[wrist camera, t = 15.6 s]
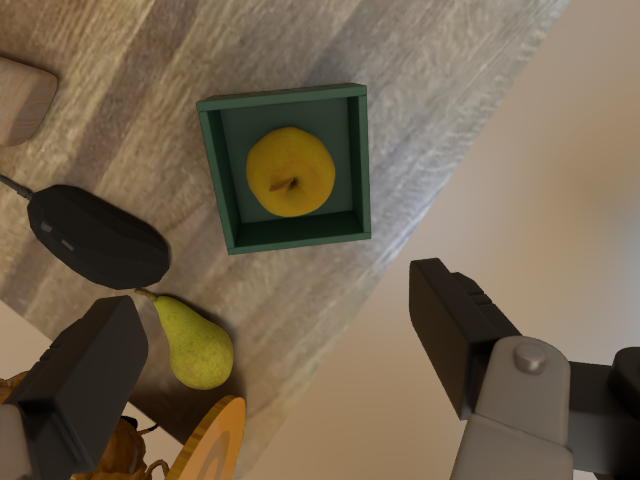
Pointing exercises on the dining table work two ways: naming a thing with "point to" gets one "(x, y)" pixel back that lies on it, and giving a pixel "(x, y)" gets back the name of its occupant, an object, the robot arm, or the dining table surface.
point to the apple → (290, 172)
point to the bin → (306, 114)
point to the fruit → (194, 344)
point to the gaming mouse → (95, 237)
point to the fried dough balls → (192, 462)
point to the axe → (23, 100)
